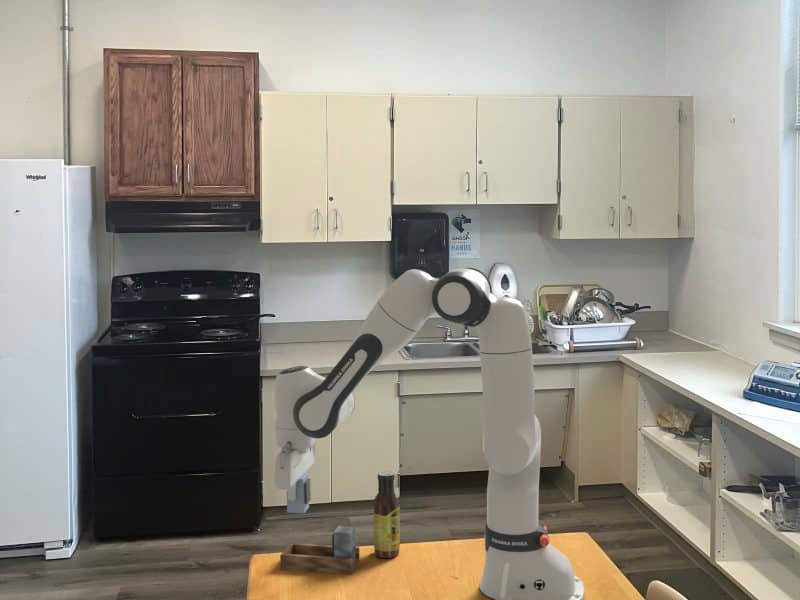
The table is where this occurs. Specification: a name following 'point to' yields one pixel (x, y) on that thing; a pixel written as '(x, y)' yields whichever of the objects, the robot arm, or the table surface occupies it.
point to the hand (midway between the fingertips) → (296, 495)
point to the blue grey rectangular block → (300, 496)
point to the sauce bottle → (386, 518)
